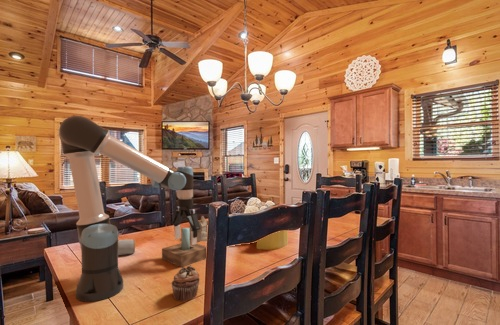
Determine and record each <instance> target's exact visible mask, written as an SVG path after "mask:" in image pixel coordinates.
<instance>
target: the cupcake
mask: <svg viewBox="0 0 500 325" xmlns="http://www.w3.org/2000/svg"><path fill="white" fill-rule="evenodd" d="M170 285H171V288H172V289H171V290H172V294H173V298H174V299H175V300H176V301H179V302H188V301H189V300H192V299H195V298H196V296H197V295H198V290H199V285H200V274H199V273H198V272H197V271H196V268H194V267H193V266H192V264H189V265H187V267H185V266H184V267H180V269H179V270H178V271H177V273H176V274H175V275H173V280H172V282H171V283H170Z"/></svg>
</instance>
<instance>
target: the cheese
mask: <svg viewBox="0 0 500 325" xmlns="http://www.w3.org/2000/svg"><path fill="white" fill-rule="evenodd" d="M255 243H256V242H254V243H253V244H255ZM288 244H289V230H288V231H280V232H277V233H274V234H271V235H269V236H267V237H265V238H263V239H261V240H258V241H257V243H256V250H277V249H282V248H285V247H286V246H288Z"/></svg>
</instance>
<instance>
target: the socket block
mask: <svg viewBox="0 0 500 325" xmlns="http://www.w3.org/2000/svg"><path fill="white" fill-rule="evenodd" d="M206 247H207V246H205V245H203V244H199V243H197V244H194V245H191V240H190V249H189V250H185V251H183V250H181V242H180V243H177V244H173V245H170V246H166V247H163V248H161V259H162V260H163V261H166V262H169V263H171V264H173V265H175V266H178V267H180V268H182V267H184V268H185V267H186V266H190V265H192V264H194V263H198V262H200V261H203V260H205V258H206ZM206 259H207V258H206Z"/></svg>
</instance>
